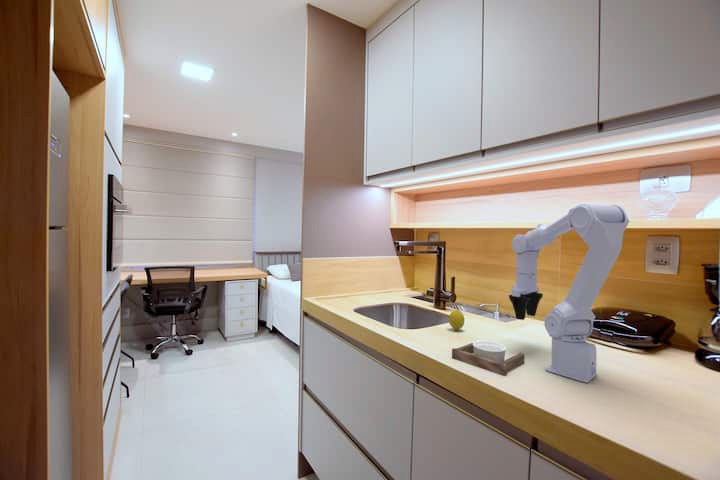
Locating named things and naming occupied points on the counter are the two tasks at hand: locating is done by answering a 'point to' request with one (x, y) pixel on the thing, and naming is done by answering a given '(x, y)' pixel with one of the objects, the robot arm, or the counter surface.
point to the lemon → (456, 319)
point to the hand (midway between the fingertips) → (525, 317)
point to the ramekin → (490, 350)
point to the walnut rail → (487, 360)
